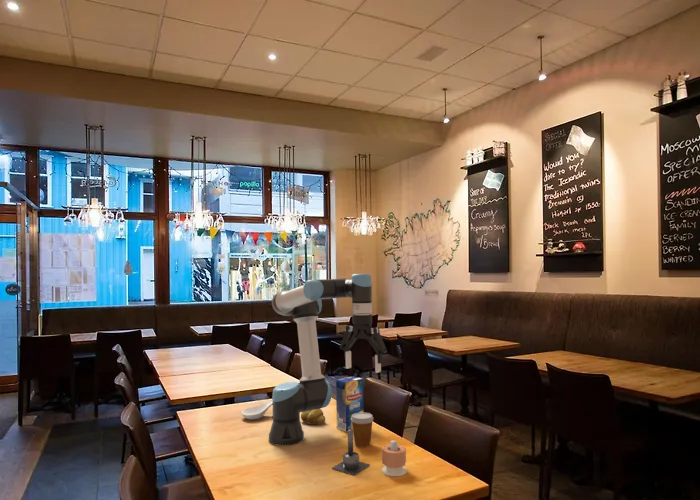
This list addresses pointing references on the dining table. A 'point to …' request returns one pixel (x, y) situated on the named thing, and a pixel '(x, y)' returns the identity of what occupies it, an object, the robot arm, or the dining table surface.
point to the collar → (394, 456)
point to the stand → (350, 459)
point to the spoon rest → (257, 411)
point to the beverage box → (348, 400)
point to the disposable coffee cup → (362, 428)
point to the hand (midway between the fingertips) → (363, 370)
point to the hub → (391, 470)
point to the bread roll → (313, 416)
